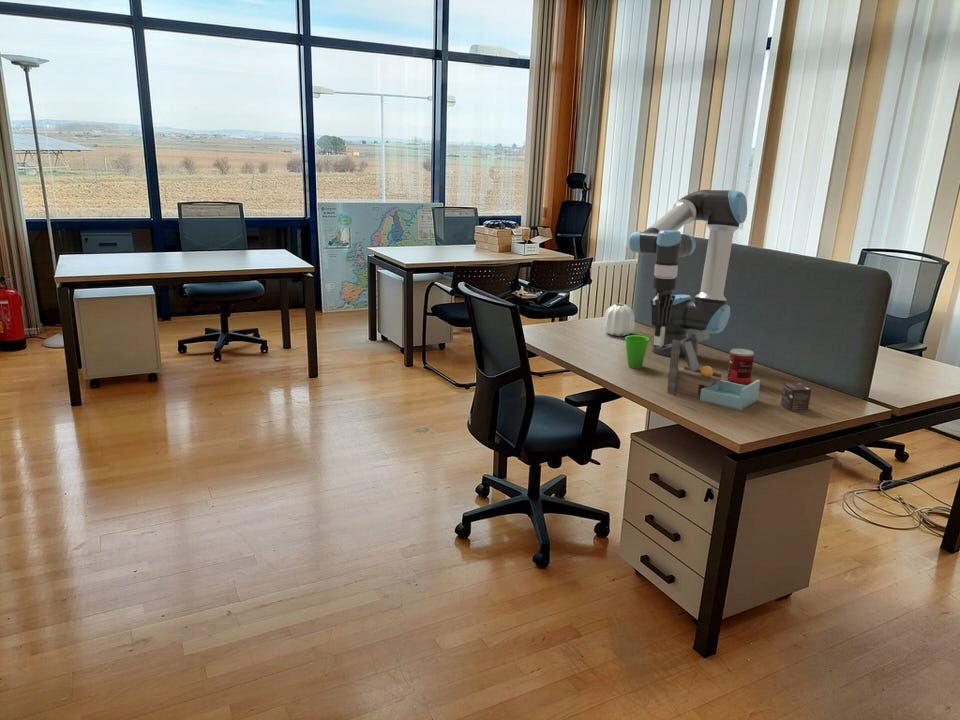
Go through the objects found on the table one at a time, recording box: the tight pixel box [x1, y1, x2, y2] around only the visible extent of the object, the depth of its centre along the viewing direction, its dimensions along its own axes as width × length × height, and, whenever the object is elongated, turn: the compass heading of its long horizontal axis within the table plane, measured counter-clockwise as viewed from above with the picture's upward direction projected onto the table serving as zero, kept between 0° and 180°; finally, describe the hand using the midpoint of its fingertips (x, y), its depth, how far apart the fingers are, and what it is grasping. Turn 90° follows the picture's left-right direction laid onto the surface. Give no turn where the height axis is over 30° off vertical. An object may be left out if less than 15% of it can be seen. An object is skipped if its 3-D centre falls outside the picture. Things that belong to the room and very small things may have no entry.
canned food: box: [727, 348, 755, 385], centre depth 241 cm, size 8×8×11 cm
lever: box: [652, 330, 711, 372], centre depth 230 cm, size 11×19×12 cm, turn 47°
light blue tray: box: [699, 379, 761, 412], centre depth 222 cm, size 14×14×7 cm
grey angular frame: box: [667, 331, 723, 398], centre depth 229 cm, size 14×15×18 cm
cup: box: [624, 334, 650, 369], centre depth 257 cm, size 9×9×11 cm
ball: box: [700, 365, 714, 378], centre depth 226 cm, size 4×4×4 cm
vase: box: [602, 303, 636, 337], centre depth 304 cm, size 14×14×13 cm
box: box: [780, 382, 812, 412], centre depth 216 cm, size 6×6×7 cm
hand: (658, 344), depth 236 cm, fingers closed, pressing on lever
